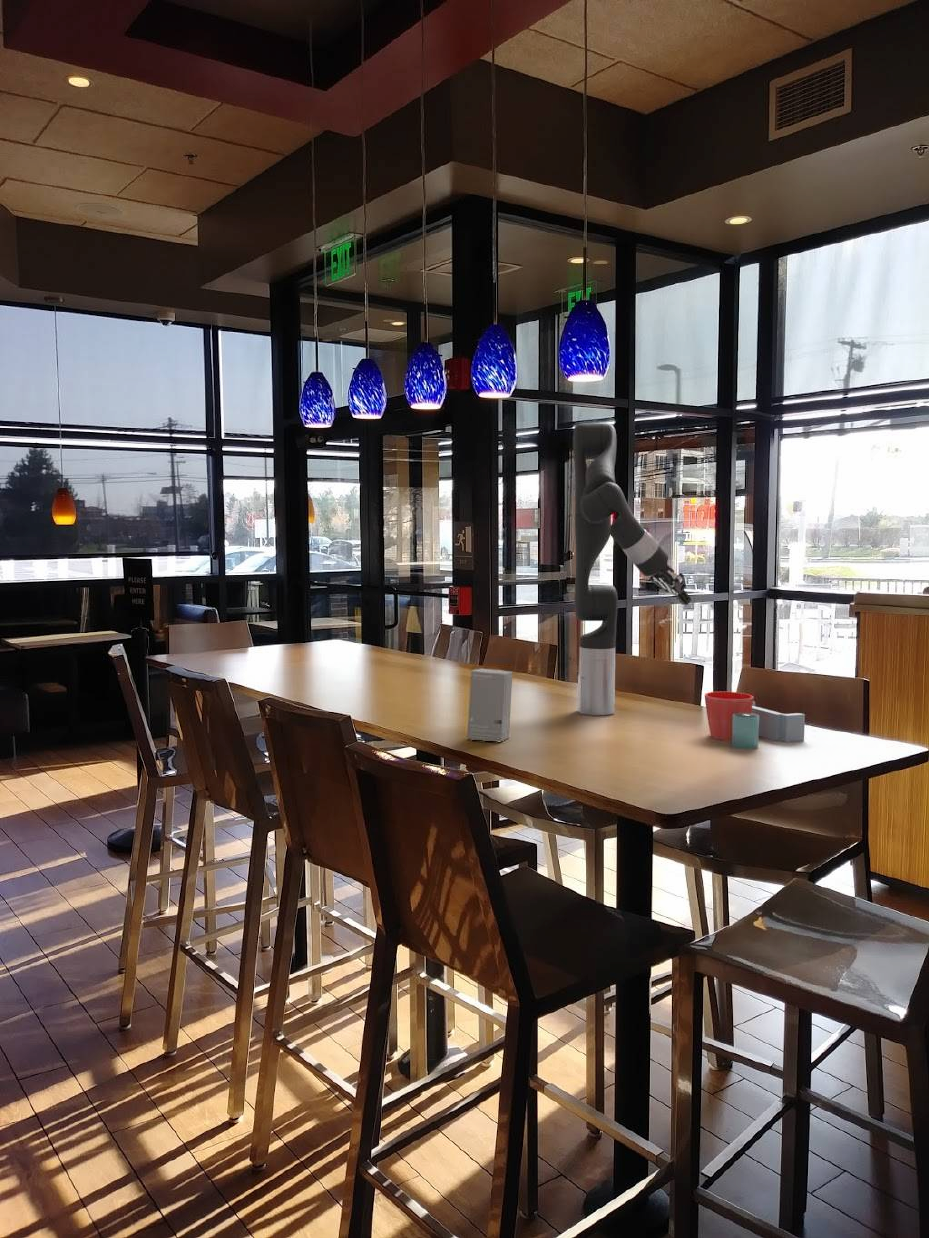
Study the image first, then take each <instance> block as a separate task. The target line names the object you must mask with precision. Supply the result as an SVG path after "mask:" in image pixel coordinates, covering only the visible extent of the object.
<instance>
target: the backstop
mask: <svg viewBox="0 0 929 1238" xmlns="http://www.w3.org/2000/svg"><path fill="white" fill-rule="evenodd" d="M751 713H754V714H757V715H759V736H760V737H762V738H766V739H769V740H773V741H776V742H777V741H781V742H784V743H792V742H791V741H794V742H804V741H805V724H806V722H805V721H806V720H805V718H806V714H804V713H800V712H795V713H781V712H779V711H776V710H775V711H774V710H770V709H767V708H764V707H763V708H762V707H760V706H759V707H758V706H756V701H754V700H753V705H752V710H751Z"/></svg>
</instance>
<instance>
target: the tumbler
mask: <svg viewBox="0 0 929 1238" xmlns="http://www.w3.org/2000/svg"><path fill="white" fill-rule="evenodd" d="M731 747H732V748H734V749H740V750H755V749H756V750H757V749H758V748H759V715H757V714H754V713H735V714H733V725H732V740H731Z"/></svg>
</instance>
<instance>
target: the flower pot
mask: <svg viewBox="0 0 929 1238" xmlns="http://www.w3.org/2000/svg"><path fill="white" fill-rule="evenodd" d="M704 701H705V710H706V716H707V723H708V728H709V732H710V733H709V734H710V736H711V737H712V738H715V739H720V740H726V741H727V740H731V741H732V725H733V714H735V713H751V710H752V705H753V701H754V696H753V695H751V694H748V693H744V692H737V691H710V692H706V693H704Z"/></svg>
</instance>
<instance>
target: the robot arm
mask: <svg viewBox="0 0 929 1238" xmlns="http://www.w3.org/2000/svg"><path fill="white" fill-rule="evenodd" d="M617 444H618V443H617V433H616V428H615V427H614V425H613V424H611V423H603V422H601V423H600V422H599V423H598V422H597V423H579V424H576V425H575V427H574V429H573V435H572V445H573V446H572V448H573V461H574V462H573V464H574V477H575V478H574V481H575V484H574V485H575V497H574V498H575V500H574V501H575V505H574V534H575V535H574V537H575V579H574V580H575V581H574V583H575V584H574V601H573V602H574V606H573V607H574V614H575V616H576V620H578V621H581V622H601V624H600V626H599V627H597V628H596V629H594V630H593V631H590V632H587V633H585V634H583V635H581V636H580V638H579V662H578V663H579V665H578V666H579V668H578V669H579V670H578V671H579V672H578V675H577V712H578V713H579V714H580V715H587V714H588V715H587V716H589V715H590V716H608V715H609V716H610V715H614V713H615V706H616V705H615V693H616V691H615V689H616V639H617V638H616V637H617V620H618V607H619V606H618V605H619V599H618V596H619V595H618V592H617V591H618V590H617V589H616V587H615V586H613V585H609V584H608V585H605V584H604V585H603V584H602V585H601V584H599V585H598V584H596V585H595V584H591V585H590V584H589V582H590V577H591V576H590V575H591V571H592V569H593V567H594V565H595V563H596V561H597V559H598V557H599V556H600V554H601V553H602V551H603V550H604V548H605V547H606V545H607V544H608V542H609V539H610V538H613V540H614V541H615V542H616V543H617V545H618V546H619V547H620V548H621V549H622V551H623V552H624V554H625V556H627V558H628V560H630V562H632V563H633V564H634V566H635V567H636V568H637V570H638V571H640V573H641V574H642V575H643V576H644V577H649V579H648V580H649V581H650V582H652V583H653V584H654V585H656V586H657V587H659V589H661V590H663V591H664V592H666V593H669V594H671V595H672V596H674V597H675V598H676V599H677V600H678V601H679V602H680V604H681V605H684V606H688V604H690V602H691V601H692V598H691V596H690V595H689V594H688V593H687V592H686V590H685V589H686V588H687V584H686V578H685V574H683V573H682V572H680V573H678V574H677V573H675V570H674V568H673V567H672V566H670V565H668V561H669V555H668V553H667V552H666V551H665V549H664V548H662V546H661V544H659V543H658V541H657V540H656V539H655V538H654V537H653V536H652V534H650V533H649V532H648V531H647V530H646V529H645V527H644V526H643V525H642V524H641V523H640V522H639V520H637V518H636V517H635V516H634V514H633V512H632V510H631V508H630V506H629V504H628V502H627V499H626V497H625V494H624V492H623V490H622V489H621V487H620V486H619V485H618V484H617V483H616V477H615V465H616V459H617ZM587 460H592V461H591V462H590V464H589V465H587ZM615 513H618V516H617V517H616V519H615V520H614V521H613V522H612V517H611V516H612V515H613V514H615Z"/></svg>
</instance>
